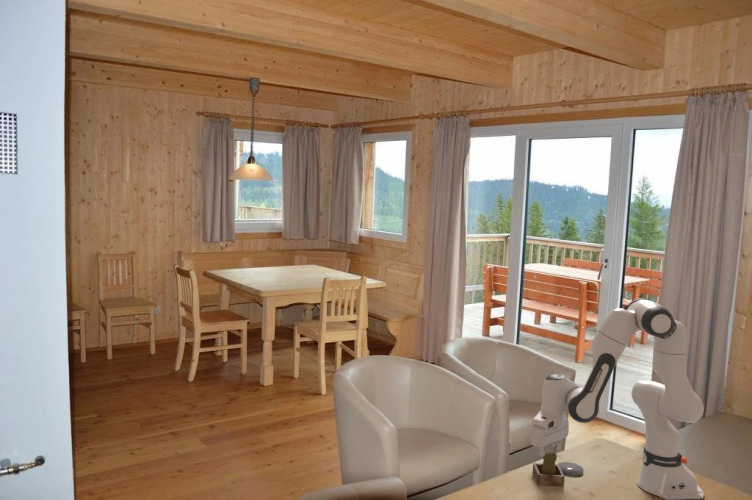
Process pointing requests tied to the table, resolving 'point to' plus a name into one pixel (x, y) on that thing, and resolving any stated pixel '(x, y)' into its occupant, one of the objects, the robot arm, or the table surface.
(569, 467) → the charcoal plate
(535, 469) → the walnut holder
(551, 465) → the cork
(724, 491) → the table surface
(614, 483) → the table surface
